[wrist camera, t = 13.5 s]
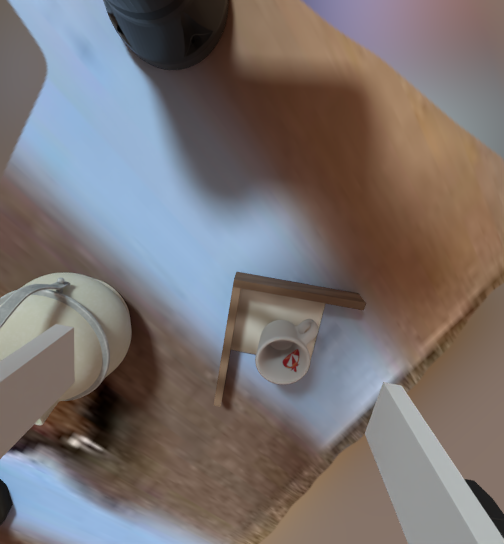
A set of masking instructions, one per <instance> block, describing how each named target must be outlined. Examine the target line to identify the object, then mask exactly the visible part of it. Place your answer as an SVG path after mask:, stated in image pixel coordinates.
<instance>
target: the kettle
mask: <svg viewBox="0 0 504 544" xmlns="http://www.w3.org/2000/svg"><path fill="white" fill-rule="evenodd" d="M55 324H58V325H64V326H70V327H74V371H75V382H74V383H73V384H72V385H71V386H70V388H69V389H68V390H67V391H66V392H65V393H64V394H63V395H62V396H61V397H60V398H59V399H58V400H57V401H56V402H55V403H54V404H53V405H52V406H51V407H50V408H49V409H48V410H47V411H46V412H45V413H44V414H43V415H42V416H41V417H40V418H39V419H38V421H37V422H36V423H35V424H36V425H43V423H44V422H45V420H46V419H47V417H48V416H49V414H50V413H51V411H52V410H53V409H54V407H55V406H56V405H57V403H58V402H59V401H68V400H74V399H77V398H81V397H83V396H85V395H87V394H89V393H91V392H92V391H94V390H95V389H96V388H97V387H98V386H99V385H100V384H101V383H102V381H103V380H104V378H105V377H107V376H108V375H109V374H110V373H112V372H113V371H114V370H115V369H116V368H117V367H118V366H119V365H120V363H121V362H122V361H123V359H124V357H125V356H126V354H127V352H128V349H129V346H130V342H131V334H132V330H131V322H130V314H129V310H128V307H127V305H126V303H125V301H124V299H123V298H122V297H121V295H120V294H119V293H118V292H117V291H116V290H115V289H114V288H112V287H111V286H110V285H108V284H106V283H105V282H103V281H100V280H97V279H94V278H91V277H88V276H85V275H81V274H76V273H54V274H49V275H45V276H42V277H39V278H37V279H35V280H33V281H31V282H29V283H27V284H26V285H24V286H23V287H22V288H20V289H19V290H15V291H12V292H10V293H8V294H6V295H4V296H3V297H1V298H0V361H1V360H3V359H4V358H6V357H7V356H9V355H10V354H12V353H13V352H15V351H16V350H18V349H19V348H21V347H22V346H24V345H25V344H27V343H28V342H30V341H31V340H33V339H34V338H36V337H37V336H39V335H40V334H42V333H43V332H45V331H46V330H48V329H49V328H51V327H52V326H54V325H55Z"/></svg>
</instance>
